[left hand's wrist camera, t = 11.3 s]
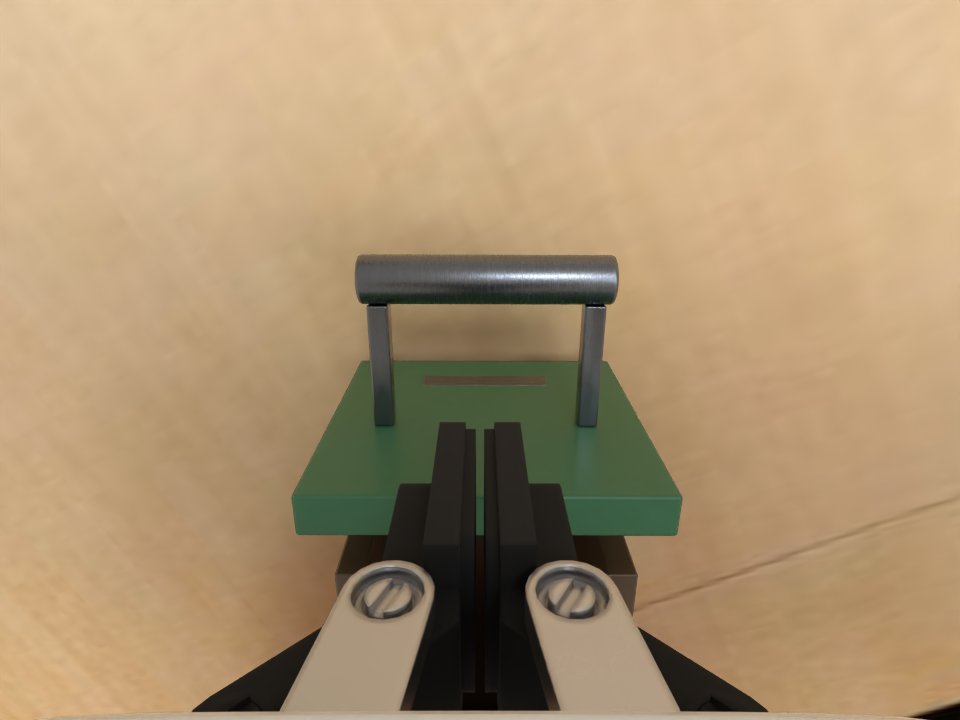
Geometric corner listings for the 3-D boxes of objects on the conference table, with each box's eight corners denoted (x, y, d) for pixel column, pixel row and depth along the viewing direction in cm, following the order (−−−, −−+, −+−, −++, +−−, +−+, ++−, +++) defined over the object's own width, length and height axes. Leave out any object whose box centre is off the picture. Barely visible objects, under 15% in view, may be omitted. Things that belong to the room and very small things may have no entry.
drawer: (351, 226, 22) (263, 290, 13) (618, 227, 22) (714, 291, 13) (385, 696, 30) (346, 931, 21) (579, 696, 30) (620, 931, 21)
